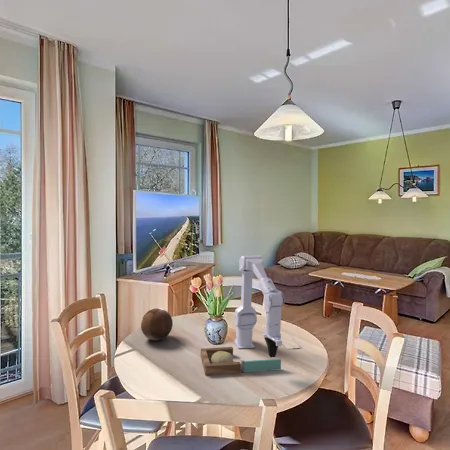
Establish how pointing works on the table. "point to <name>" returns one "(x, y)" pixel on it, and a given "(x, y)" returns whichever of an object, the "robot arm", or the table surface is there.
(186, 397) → the table surface
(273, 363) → the teal plank
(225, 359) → the sea urchin shell
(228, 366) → the bay
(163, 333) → the wooden sphere
